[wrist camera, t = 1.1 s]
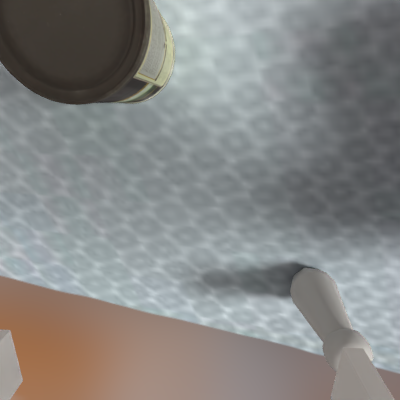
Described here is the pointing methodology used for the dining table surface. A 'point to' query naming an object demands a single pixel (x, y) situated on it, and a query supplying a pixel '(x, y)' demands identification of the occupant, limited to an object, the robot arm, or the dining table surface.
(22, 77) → the coffee can
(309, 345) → the dining table surface
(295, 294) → the salt shaker
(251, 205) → the dining table surface
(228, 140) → the dining table surface
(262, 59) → the dining table surface
